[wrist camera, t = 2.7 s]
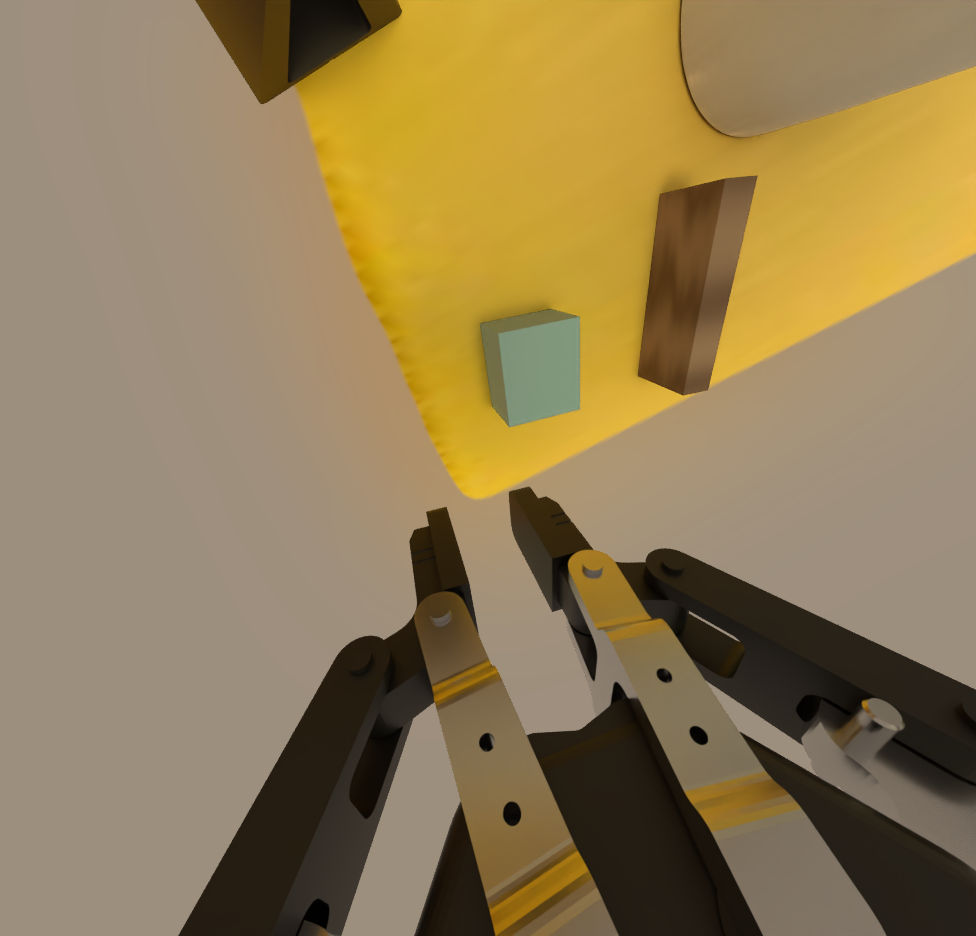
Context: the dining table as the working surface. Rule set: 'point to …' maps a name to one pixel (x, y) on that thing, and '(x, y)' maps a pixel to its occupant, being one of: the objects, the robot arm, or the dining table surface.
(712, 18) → the utensil holder
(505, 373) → the teal block
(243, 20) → the phone stand
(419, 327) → the dining table surface
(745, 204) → the walnut board
